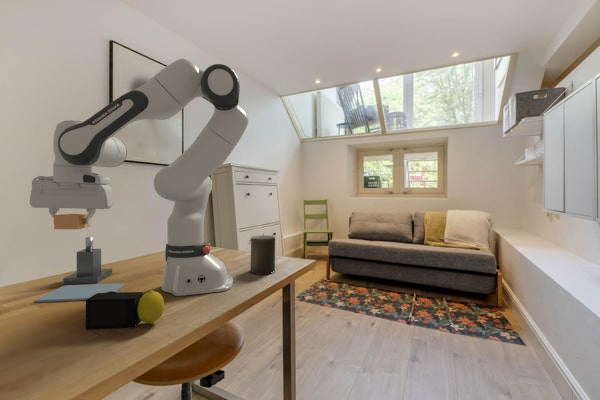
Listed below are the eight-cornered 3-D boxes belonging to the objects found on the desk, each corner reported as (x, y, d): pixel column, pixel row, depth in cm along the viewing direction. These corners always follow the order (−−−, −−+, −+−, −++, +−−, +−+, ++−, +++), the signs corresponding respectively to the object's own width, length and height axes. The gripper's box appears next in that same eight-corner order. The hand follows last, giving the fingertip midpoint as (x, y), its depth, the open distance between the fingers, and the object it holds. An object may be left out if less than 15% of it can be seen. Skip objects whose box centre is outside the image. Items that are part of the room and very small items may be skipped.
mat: (126, 284, 90) (126, 283, 90) (107, 299, 78) (107, 297, 78) (64, 287, 86) (64, 285, 86) (34, 302, 75) (34, 300, 75)
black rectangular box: (145, 317, 68) (145, 289, 68) (135, 328, 62) (135, 298, 62) (100, 319, 66) (100, 290, 66) (85, 330, 61) (85, 299, 61)
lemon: (152, 331, 61) (153, 295, 61) (131, 328, 62) (131, 293, 62) (169, 319, 66) (169, 287, 66) (149, 317, 68) (149, 285, 67)
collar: (89, 226, 85) (90, 213, 84) (77, 229, 79) (78, 215, 79) (67, 226, 83) (68, 213, 83) (54, 229, 78) (54, 215, 77)
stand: (112, 274, 101) (112, 235, 100) (97, 283, 91) (97, 239, 90) (81, 275, 99) (81, 235, 98) (63, 284, 89) (63, 240, 89)
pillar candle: (273, 275, 104) (274, 235, 103) (247, 274, 104) (248, 235, 104) (275, 268, 113) (276, 232, 113) (252, 267, 114) (253, 231, 113)
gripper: (23, 174, 76) (23, 224, 76) (105, 178, 79) (104, 225, 80) (40, 176, 82) (40, 222, 82) (115, 178, 86) (115, 222, 86)
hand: (72, 223), depth 81 cm, fingers closed on collar, 6 cm apart
